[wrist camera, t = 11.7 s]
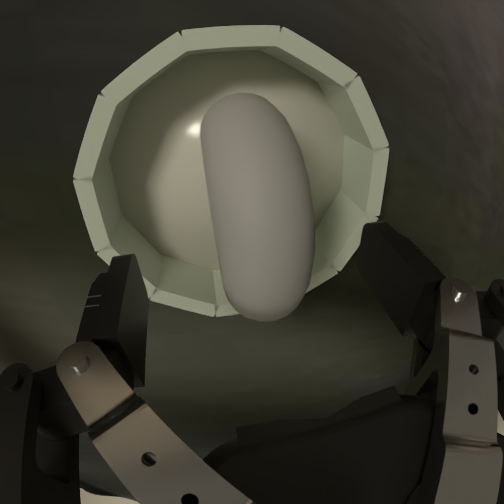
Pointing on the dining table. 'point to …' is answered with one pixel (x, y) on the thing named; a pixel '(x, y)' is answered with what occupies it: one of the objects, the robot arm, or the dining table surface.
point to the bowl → (191, 160)
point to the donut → (258, 205)
